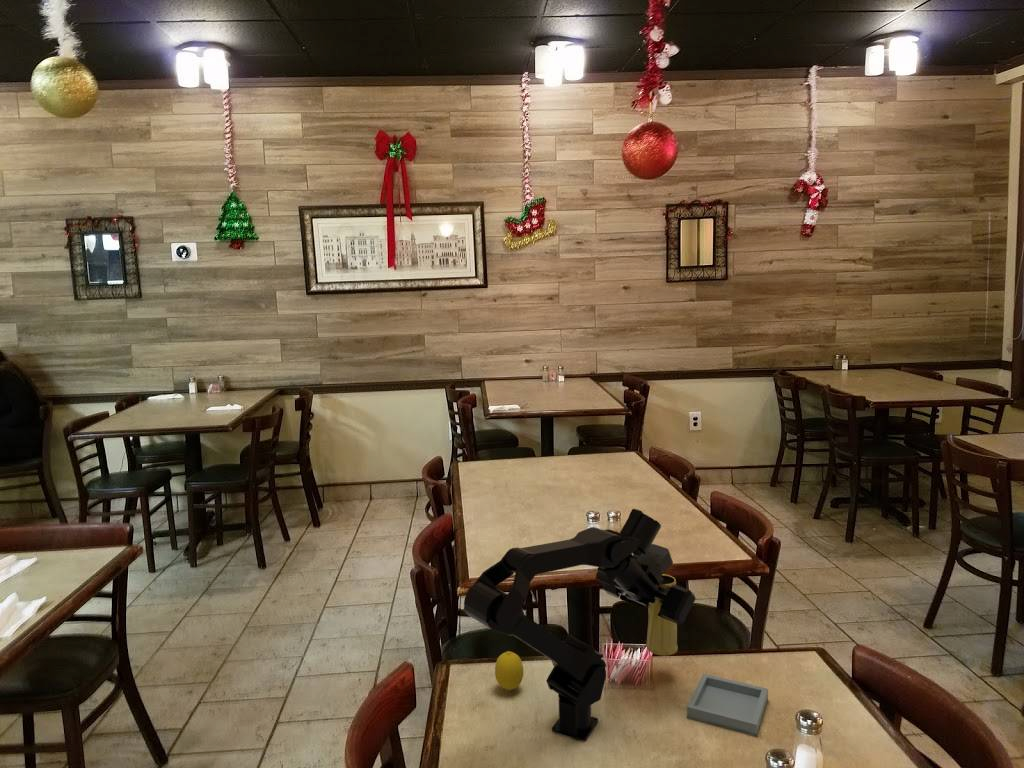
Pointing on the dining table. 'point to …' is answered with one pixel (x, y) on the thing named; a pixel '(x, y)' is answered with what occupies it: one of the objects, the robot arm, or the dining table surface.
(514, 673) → the lemon
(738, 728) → the tray
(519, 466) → the dining table surface
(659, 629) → the vase
